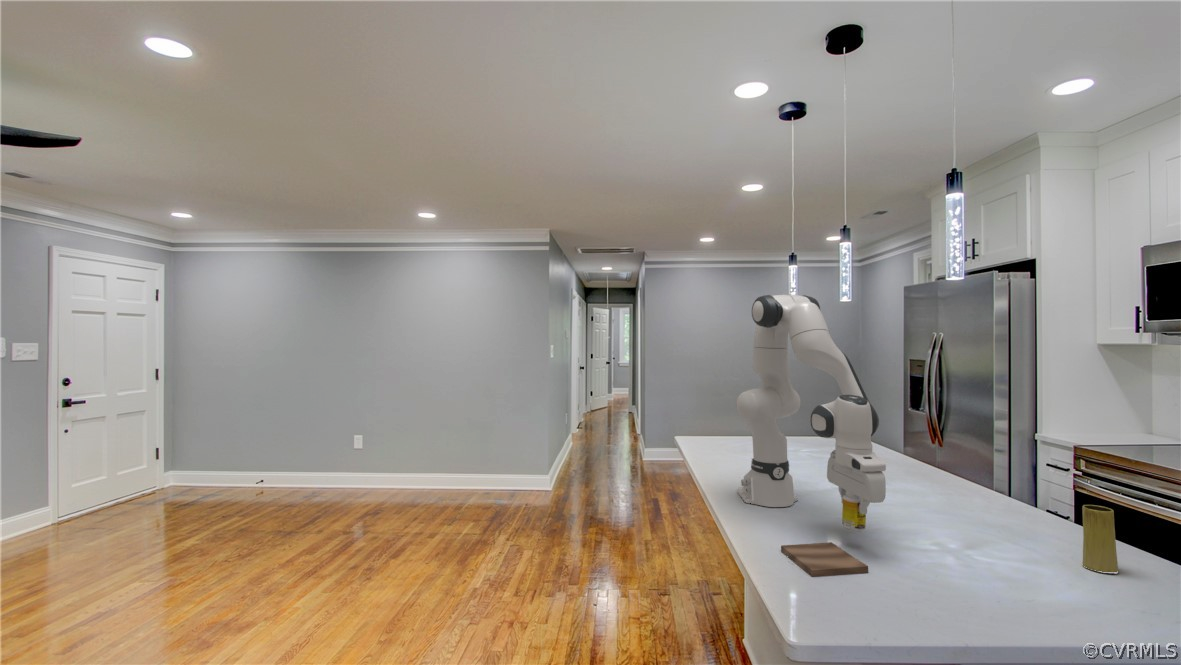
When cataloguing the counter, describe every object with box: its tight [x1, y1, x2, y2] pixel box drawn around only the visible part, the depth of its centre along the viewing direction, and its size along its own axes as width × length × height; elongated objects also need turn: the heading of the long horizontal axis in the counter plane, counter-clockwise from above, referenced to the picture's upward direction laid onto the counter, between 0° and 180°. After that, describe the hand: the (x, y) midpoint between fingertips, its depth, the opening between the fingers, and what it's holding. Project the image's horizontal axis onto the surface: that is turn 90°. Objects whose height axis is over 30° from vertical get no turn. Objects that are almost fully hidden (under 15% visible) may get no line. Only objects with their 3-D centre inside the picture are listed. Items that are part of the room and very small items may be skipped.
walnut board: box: [780, 541, 869, 578], centre depth 128 cm, size 15×14×2 cm
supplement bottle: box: [841, 490, 867, 532], centre depth 137 cm, size 6×6×10 cm
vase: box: [1081, 504, 1120, 572], centre depth 121 cm, size 6×6×14 cm
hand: (853, 508), depth 137 cm, fingers closed on supplement bottle, 5 cm apart
